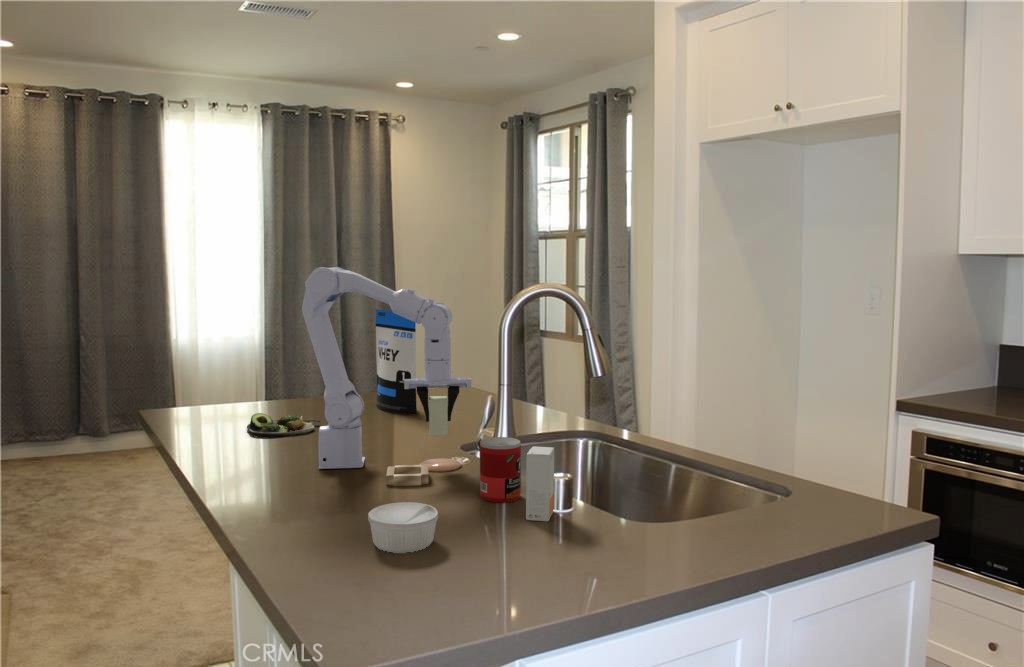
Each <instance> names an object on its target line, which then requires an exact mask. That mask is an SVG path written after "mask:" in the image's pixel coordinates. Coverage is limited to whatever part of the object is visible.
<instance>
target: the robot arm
mask: <svg viewBox="0 0 1024 667" xmlns="http://www.w3.org/2000/svg"><path fill="white" fill-rule="evenodd" d="M304 286H305V290H304V297H303V299H302V300H303V301H302V307H301V313H302V316H303V318H304V319H303V320H304V323H305V326H306V328H307V332H308V335H309V338H310V339H309V340H310V341H311V344H312V347H313V351H314V353H315V354H314V355H315V358H316V361H317V365H318V368H319V370H320V373H321V378H322V380H323V384H324V387H325V388H324V393H323V400H324V404H325V407H324V418H325V419H326V421H327V423H328V424H327V425H321V426H319V429H318V469H319V470H323V469H324V470H326V469H327V470H329V469H331V470H332V469H358V468H359V469H361V468H363V467H364V464H365V461H366V456H363V443H362V442H363V440H362V439H363V436H362V432H363V430H362V420H361V418H360V417H361V415H362V414H363V413H364V411H365V403H364V400H363V398H362V396H361V395H360V394H359V393H358V392H357V390H356V388H355V385H354V384H353V382H351V381H350V380H349V376H348V374H347V373H348V372H347V371H346V370H347V369H346V367H345V364H344V361H343V360H344V359H343V358H342V353H341V351H340V348H339V345H338V342H337V338H336V335H335V332H334V328H333V325H332V321H331V319H330V315H329V311H330V309H331V308H332V306H333V304H334V303H335V301H336V300H337V299H338V298H340V296H342V295H344V293H351V292H352V293H353V292H355V293H357V294H358V293H359V294H361V295H364V296H366V297H369V298H372V299H374V300H377V301H379V302H382V303H385V304H386V305H389V307H390V310H391V311H393V313H395V314H397V315H400V316H402V317H404V318H407V319H409V320H411V321H413V322H416V324H418V325H419V324H422V327H423V328H424V341H423V343H424V377H419V378H417V377H416V379H405V380H404V389H410V388H416V395H417V396H418V398H419V400H420V403H421V404H422V405H421V406H422V408H423V410H424V415H425V421H426V422H427V423H429V389H442V388H443V389H447V400H448V422H451V421H452V413H453V410H454V406H455V403H456V400H457V399H458V396H459V394H460V388H466V389H472V378H471V377H452V359H451V356H452V355H451V354H452V348H451V347H452V344H451V343H452V342H451V341H452V340H451V339H452V338H451V327H450V325H451V323H452V322H453V313H452V310H451V309H450V308H449V307H448V305H446V304H445V303H443V302H436V303H435V299H434V298H432V297H430V298H426V297H424V296H421V295H419V294H417V293H416V292H415V289H413V288H410V287H409V288H407V289H405V288H401V289H399V290H397V291H395V290H393V289H391V288H389V287H387V286H385V285H383V284H380V283H378V282H377V281H374V280H372V279H370V278H368V277H366V276H364V275H362V274H360V273H358V272H354V271H352V270H348V269H344V268H342V267H339V266H332V267H325V266H324V267H323V266H321V267H316V268H315V269H313V270H312V272H311V273H310V274H309V276H308V277H307V278H306V281H305V282H304Z"/></svg>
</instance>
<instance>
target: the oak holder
mask: <svg viewBox="0 0 1024 667" xmlns="http://www.w3.org/2000/svg"><path fill="white" fill-rule="evenodd" d="M385 476H386V477H385V479H386V484H385V485H386V486H394V487H401V486H402V487H405V486H407V487H408V486H422V485H429V471H428V465H425V466H421V465H420V464H402V465H401V464H400V465H399V464H398V465H395V466H394V465H392V466H387V471H386V475H385Z"/></svg>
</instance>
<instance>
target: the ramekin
mask: <svg viewBox="0 0 1024 667" xmlns="http://www.w3.org/2000/svg"><path fill="white" fill-rule="evenodd" d="M367 520H368V523H369V525H370V531H371V532H370V533H371V537H372V542H373V544H374V546H376V548H377V549H378V550H380V551H382V550H383V551H382V552H385V551H387V552H386V553H389V552H393V553H392V554H407V553H406V552H411V553H415V552H414V551H416V552H419V551H418V550H420V551H423V550H425V549H427V548H428V547H430V545H431V544H432V543H433V541H434V537H435V532H436V526H437V521H438V520H439V512H438V510H437V508H436V507H434V506H432V505H430V504H426V503H423V502H422V503H421V502H413V501H412V502H411V501H408V502H407V501H406V502H403V501H400V502H392V503H386V504H382V505H379V506H376V507H374V508H372V509H371V510H370V511H369V512H368V513H367ZM426 547H427V548H426ZM422 549H423V550H422Z"/></svg>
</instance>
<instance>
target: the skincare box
mask: <svg viewBox="0 0 1024 667" xmlns="http://www.w3.org/2000/svg"><path fill="white" fill-rule="evenodd" d="M525 458H526V460H525V461H526V462H525V463H526V464H525V465H526V466H525V467H526V468H525V469H526V470H525V471H526V472H525V476H526V478H525V480H526V481H525V484H526V485H525V486H526V488H525V520H526V521H535V522H536V521H537V522H538V521H539V522H549V521H550V518H551V517H552V515H553V513H554V511H553V510H555V509H554V508H555V507H554V505H555V504H554V503H555V501H554V500H555V499H554V497H555V447H551V446H550V447H549V446H546V447H545V446H532V447H531V448H530V449H529V450H528V452H527V453H526V457H525Z"/></svg>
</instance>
